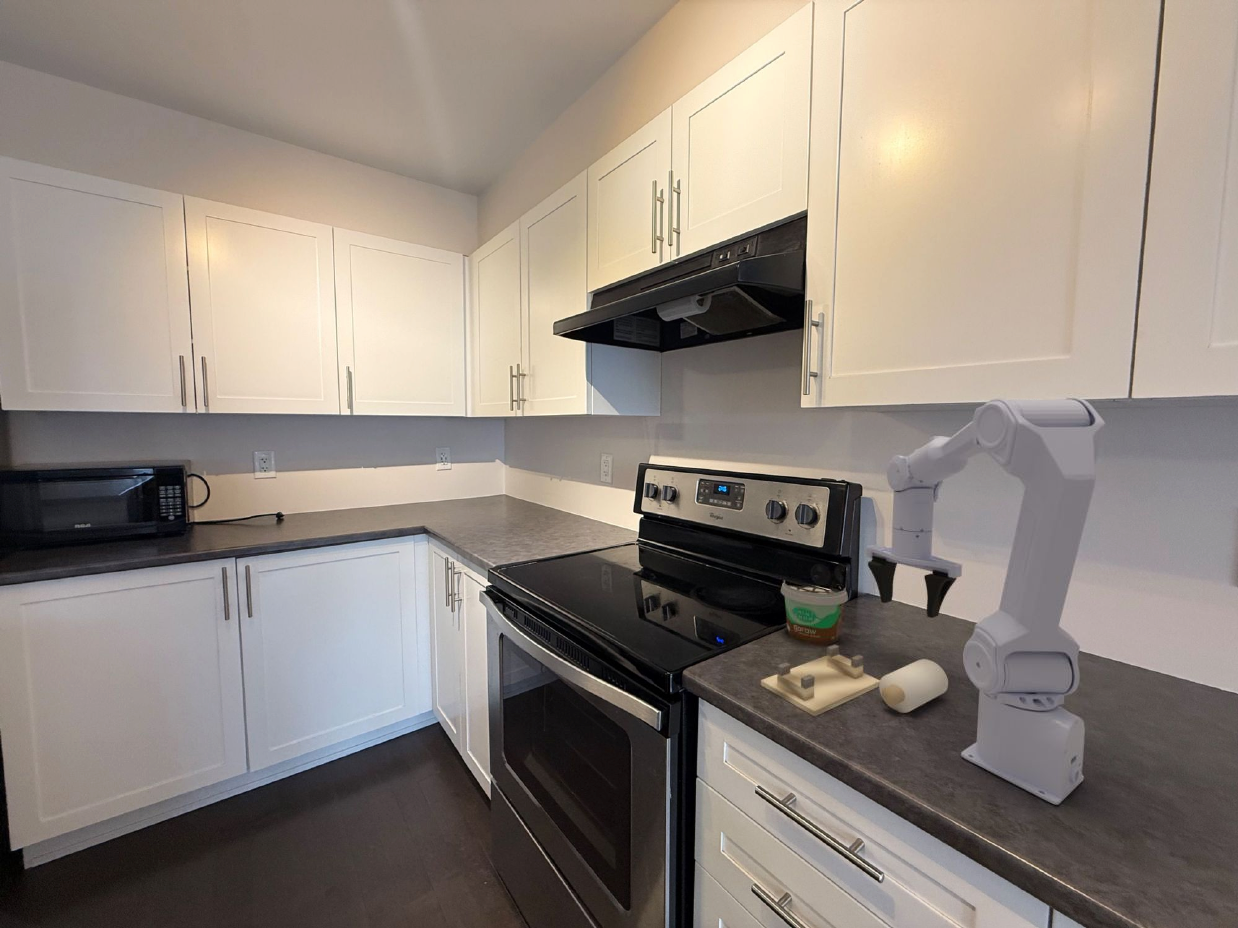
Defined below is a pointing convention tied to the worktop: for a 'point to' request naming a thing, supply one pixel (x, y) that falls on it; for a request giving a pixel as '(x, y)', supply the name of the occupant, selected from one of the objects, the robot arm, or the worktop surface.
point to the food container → (813, 613)
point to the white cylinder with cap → (913, 685)
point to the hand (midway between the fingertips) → (908, 608)
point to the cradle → (821, 682)
